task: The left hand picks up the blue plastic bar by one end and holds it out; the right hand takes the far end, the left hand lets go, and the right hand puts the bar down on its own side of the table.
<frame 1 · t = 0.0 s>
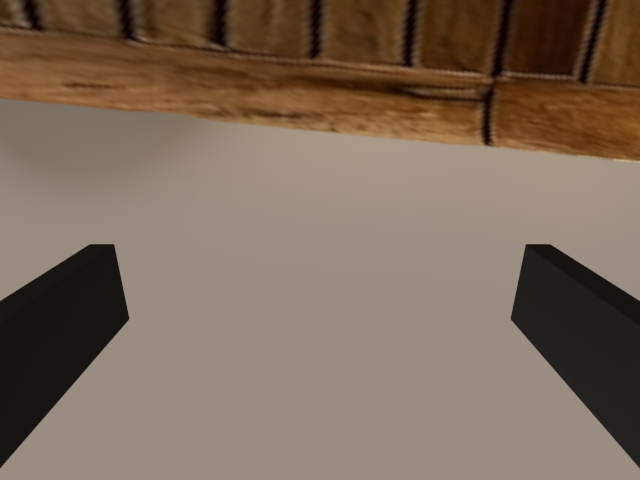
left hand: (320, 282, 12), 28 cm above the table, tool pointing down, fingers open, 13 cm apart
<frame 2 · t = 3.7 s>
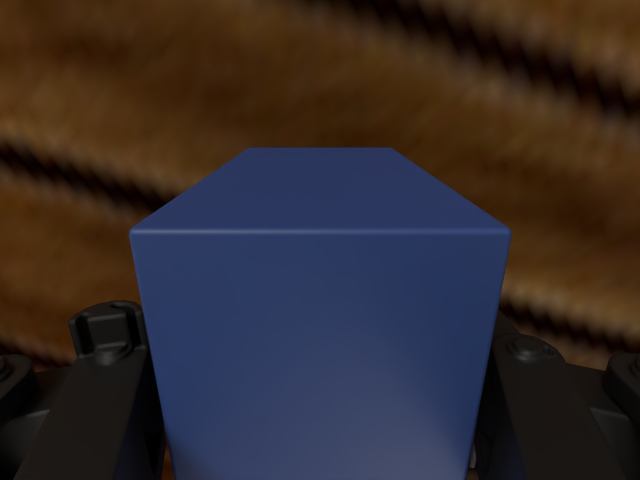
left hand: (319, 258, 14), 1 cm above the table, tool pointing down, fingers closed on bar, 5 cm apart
bar: (319, 448, 18), on the table, touching left hand
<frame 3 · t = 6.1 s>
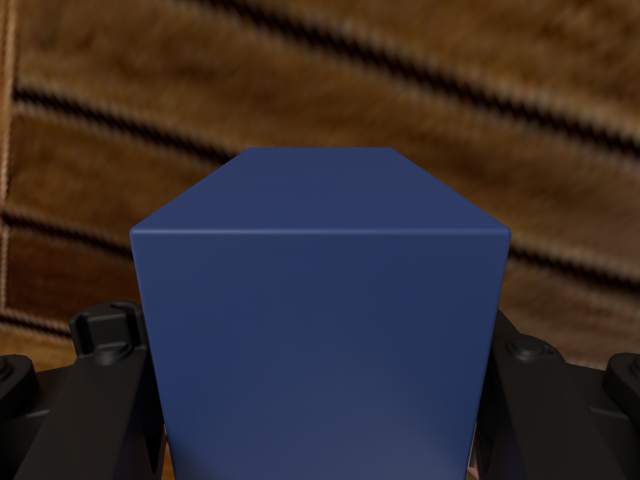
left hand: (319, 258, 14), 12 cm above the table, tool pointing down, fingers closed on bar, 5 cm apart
bar: (320, 448, 18), point 11 cm above the table, touching left hand
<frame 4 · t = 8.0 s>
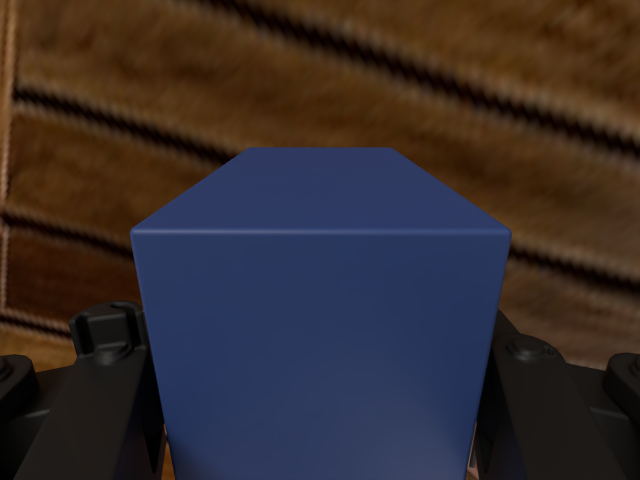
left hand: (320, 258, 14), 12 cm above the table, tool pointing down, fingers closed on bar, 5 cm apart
bar: (319, 448, 18), point 11 cm above the table, touching left hand, right hand
when the left hand's fingers open (12 cm above the table, at t = 8.7 s): bar stays where it is, held by the right hand.
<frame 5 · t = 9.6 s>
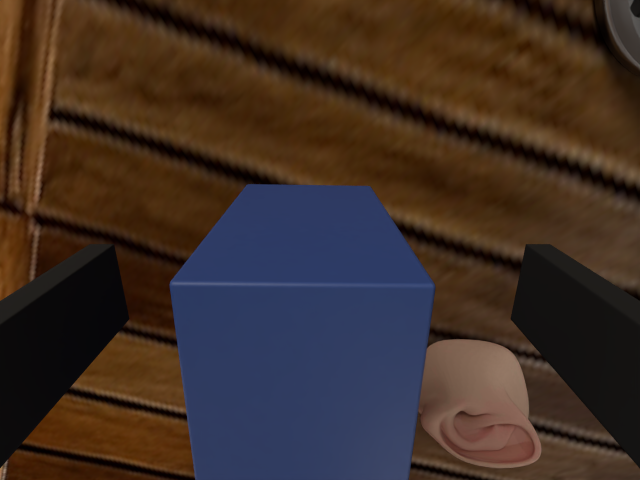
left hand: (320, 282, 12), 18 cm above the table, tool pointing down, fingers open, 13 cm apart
bar: (306, 445, 20), point 14 cm above the table, touching right hand
anatomical model: (467, 390, 37), on the table
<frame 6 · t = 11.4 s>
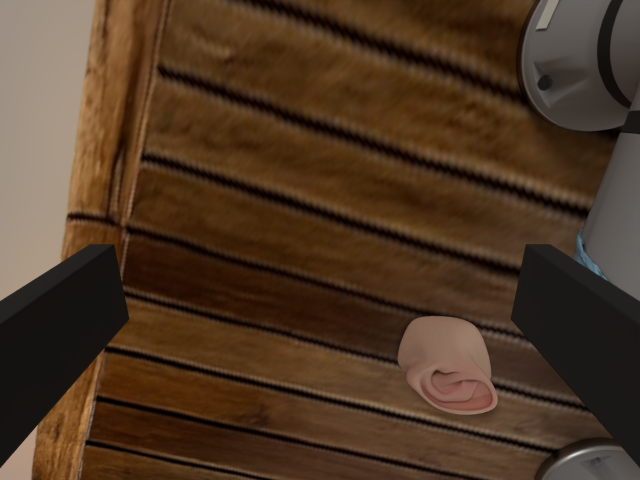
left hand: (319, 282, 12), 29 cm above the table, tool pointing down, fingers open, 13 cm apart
anatomical model: (443, 356, 48), on the table
when the right hand's fingers open (2 cm above the table, at t = 13.0 s): bar drops 1 cm, on the table.
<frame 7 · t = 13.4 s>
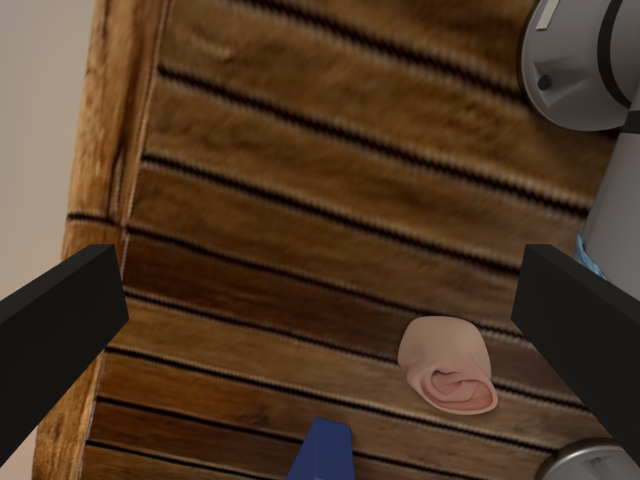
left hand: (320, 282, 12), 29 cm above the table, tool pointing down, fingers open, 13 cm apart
anatomical model: (443, 356, 48), on the table
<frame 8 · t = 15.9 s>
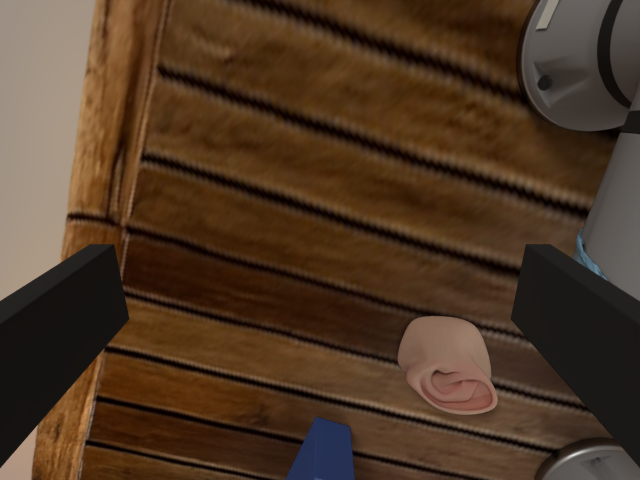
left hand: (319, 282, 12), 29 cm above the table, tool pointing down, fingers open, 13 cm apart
anatomical model: (443, 356, 48), on the table
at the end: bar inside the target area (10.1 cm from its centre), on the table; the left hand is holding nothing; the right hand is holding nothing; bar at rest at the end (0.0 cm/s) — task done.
